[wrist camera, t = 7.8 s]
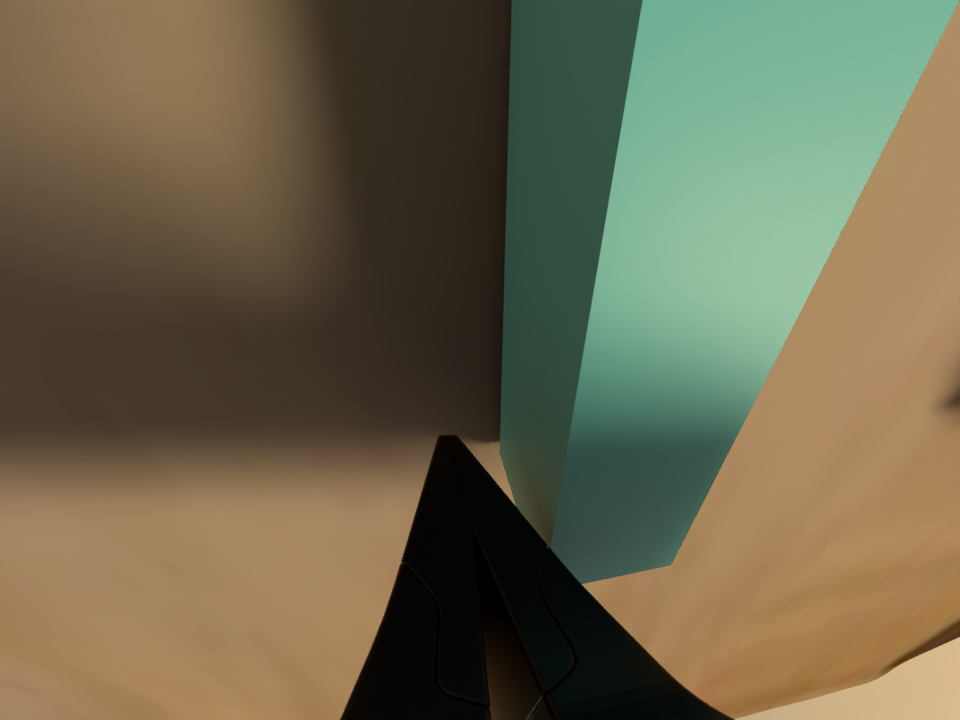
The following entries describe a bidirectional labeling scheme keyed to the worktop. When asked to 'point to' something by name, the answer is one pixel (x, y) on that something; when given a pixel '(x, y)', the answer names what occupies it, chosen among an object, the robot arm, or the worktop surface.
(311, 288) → the worktop surface
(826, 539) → the worktop surface
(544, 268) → the folding leg
